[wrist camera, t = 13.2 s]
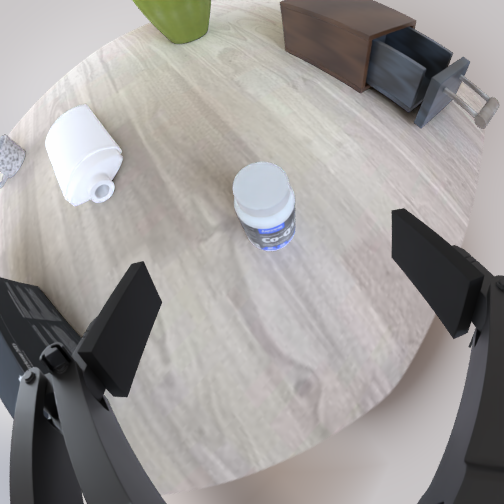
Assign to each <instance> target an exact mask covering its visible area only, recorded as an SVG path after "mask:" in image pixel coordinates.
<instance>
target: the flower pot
mask: <svg viewBox="0 0 504 504" xmlns="http://www.w3.org/2000/svg"><path fill="white" fill-rule="evenodd" d="M133 2H134V3H135V4H136V6H137V7H138V8H139V9H140V10H141V12H142V13H143V14H144V15H145V16H146V17H147V18H148V20H150V22H151V23H152V24H153V25H154V26H155V27H156V28H157V29H158V30H159V31H160V32H161V33H162V34H164V35H165V36H166V37H167V38H168V39H169V40H170V41H171V42H173V43H175V44H182V43H188V42H191V41H194V40H196V39H198V38H200V37H202V36H203V35H205V34H206V32H207V30H208V25H209V17H210V8H211V0H133Z"/></svg>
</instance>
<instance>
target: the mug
mask: <svg viewBox="0 0 504 504" xmlns="http://www.w3.org/2000/svg"><path fill="white" fill-rule="evenodd" d="M25 154H26V152H25V150H24V149H22V148H21V147H20V146H19V145H17V144H16V143H15V142H14V141H13V140H12V139H10V138H9V137H8V136H7V135H3V136H1V137H0V172H1V173H3V174H4V175H3V177H2V181H1V182H0V188H2V187H3V185H4V184H5V182H6V180H7V179H8V178H11V177H12V176H14V175H15V174H16V172H17V171H18V170H19V168H20V167H21V165H22V163H23V161H24V158H25Z"/></svg>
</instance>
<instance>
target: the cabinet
mask: <svg viewBox="0 0 504 504" xmlns="http://www.w3.org/2000/svg"><path fill="white" fill-rule="evenodd" d="M280 6H281V14H282V22H283V31H284V40H285V50H286V52H289V53H291V54H293V55H295V56H297V57H299V58H301V59H303V60H305V61H307V62H308V63H310V64H312V65H314V66H316V67H318V68H320V69H321V70H323V71H325V72H327V73H328V74H330V75H332V76H334V77H335V78H337V79H339V80H340V81H342V82H344V83H345V84H347V85H348V86H350V87H352V88H353V89H355V90H356V91H358V92H359V93H362V92H364V91H365V90H367V89H369V88H370V87H372V86H370V85H369V84H367V83H366V77H367V71H368V65H369V59H370V53H371V46H372V40H373V39H376V38H378V37H381V36H383V35H386V34H389V33H392V32H395V31H397V30H400V29H403V28H406V27H411V28H413V29H415V25H416V20H414V19H412V18H410V17H408V16H406V15H404V14H402V13H400V12H398V11H396V10H394V9H392V8H389V7H387V6H385V5H383V4H380V3H378V2H375V1H373V0H284V1H281V2H280Z"/></svg>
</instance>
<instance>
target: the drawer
mask: <svg viewBox="0 0 504 504" xmlns="http://www.w3.org/2000/svg"><path fill="white" fill-rule="evenodd" d="M452 55H453V53H452V52H451V51H449V50H448V49H446V48H445V47H443V46H442V45H440V44H439V43H437V42H435V41H434V40H432V39H430V38H429V37H427V36H426V35H424V34H422V33H420V32H419V31H417V30H415V29H413V28H411V27H406V28H403V29H400V30H397V31H395V32H392V33H389V34H386V35H383V36H381V37H378V38H376V39H373V40H372V46H371V53H370V59H369V65H368V71H367V77H366V83H367V84H369V85H370V86H372V87H373V88H375V89H376V90H378V91H379V92H381V93H382V94H384V95H385V96H387V97H388V98H390V99H391V100H392V101H394V102H395V103H397V104H398V105H399V106H401V107H402V108H403V109H405V110H406V111H407V112H410V111H411V110H413V109H414V108H415V107H416V106H418V105H419V104H420V103H422V104H421V107H420V109H419V112H418V114H417V116H416V119H415V121H414V123H415V124H416V125H417V126H418V127H420V128H422V127H423V126H425V125H426V124H427V123H428V122H429V121H430V120H431V119H432V118H433V117H434V116H436V115H437V114H438V113H439V112H440V111H441V110H442V109H443V108H444V107H445V106H446V105H447V104H449V103H450V102H451V101H452V100H454V101H455V102H456V103H458V104H459V105H460V106H461V107H462V108H464V109H465V110H466V111H467V112H468V113H469V114H470V115H472V116H473V117H474V118H475V124H476V125H477V126H478V127H479V128H481V129H484V128H485V127H486V126H487V124H488V123H489V121H490V120H491V118H492V117H493V115H494V114H495V112H496V111H497V109H498V108H499V102H498V100H497V99H496V98H489V97H488V96H487V95H486V94H485V93H484V92H483V91H482V90H480V89H479V88H478V87H477V86H476V85H474V84H473V83H472V82H471V81H469V80H468V79H467V78H466V77H464V75H465V73H466V71H467V68H468V66H469V64H470V61H468V60H467V59H465V58H464V57H462V58H461V59H459V60H457V61H456V62H455V63H453V64H452V65H450V66H448V65H449V63H450V60H451V57H452ZM462 81H463V82H464V83H465V84H467V85H468V86H469V87H471V88H472V89H473V90H474V91H475V92H477V93H478V94H479V95H480V96H481V97H482V98H484V99H485V100H486V101H487V103H486V104H485V106H484V107H483V108H482V109H481V110H480V112H479V113H477V112H476V111H474V110H473V109H472V108H471V107H470V106H469V105H468V104H466V103H465V102H464V101H463V100H462V99H460V98H459V97H458V96H457V95H456V93H457V91H458V89H459V86H460V84H461V82H462Z"/></svg>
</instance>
